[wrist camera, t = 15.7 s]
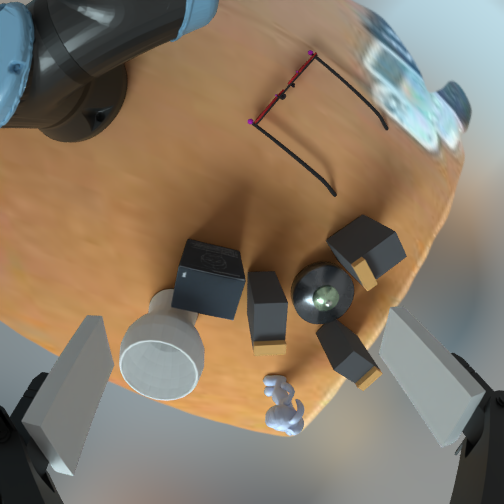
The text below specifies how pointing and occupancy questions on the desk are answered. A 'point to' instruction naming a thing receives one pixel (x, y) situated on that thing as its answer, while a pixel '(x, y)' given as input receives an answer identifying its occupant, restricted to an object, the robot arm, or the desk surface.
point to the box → (209, 280)
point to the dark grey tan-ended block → (366, 250)
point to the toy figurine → (283, 406)
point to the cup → (162, 351)
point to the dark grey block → (348, 354)
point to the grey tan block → (266, 313)
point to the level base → (322, 292)
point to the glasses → (283, 96)
